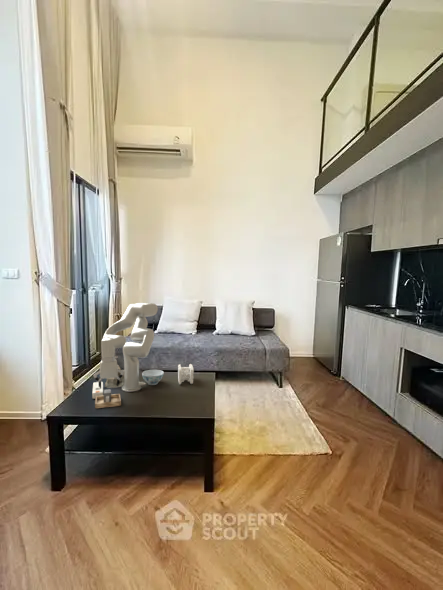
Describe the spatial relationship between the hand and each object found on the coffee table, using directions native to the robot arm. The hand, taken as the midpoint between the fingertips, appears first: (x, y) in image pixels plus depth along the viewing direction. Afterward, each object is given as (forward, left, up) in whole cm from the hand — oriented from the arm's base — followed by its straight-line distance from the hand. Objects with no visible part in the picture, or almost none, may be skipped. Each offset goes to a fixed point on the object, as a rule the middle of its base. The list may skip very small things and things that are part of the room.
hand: (109, 386), depth 188 cm
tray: (+1, +1, -10) cm, 10 cm away
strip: (+7, -18, -10) cm, 22 cm away
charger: (+1, +5, -6) cm, 8 cm away
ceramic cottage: (-6, -30, -10) cm, 32 cm away
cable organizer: (-52, -22, -10) cm, 58 cm away
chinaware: (-29, -25, -10) cm, 40 cm away
